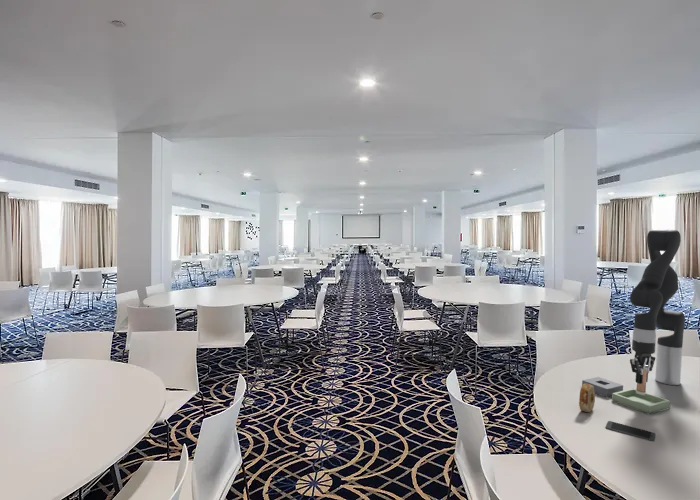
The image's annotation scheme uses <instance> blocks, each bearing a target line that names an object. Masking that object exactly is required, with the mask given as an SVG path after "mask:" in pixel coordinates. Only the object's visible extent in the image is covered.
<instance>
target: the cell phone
mask: <svg viewBox="0 0 700 500" xmlns="http://www.w3.org/2000/svg"><path fill="white" fill-rule="evenodd" d="M604 428H605V429H606V430H609V431H612V432H616V433H620V434H624V435H628V436H630V437H635V438H637V439H638V438H639V439H642V440H646V441H650V442H655V439H656V433H655V432H653V431H650V430H647V429H644V428H643V429H642V428H638V427H635V426H631V425H627V424H623V423H620V422H615V421H613V420H608V421H607V423H606V424H605V427H604Z"/></svg>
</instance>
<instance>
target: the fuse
mask: <svg viewBox="0 0 700 500" xmlns="http://www.w3.org/2000/svg"><path fill="white" fill-rule="evenodd" d="M639 366H641V365H639ZM640 370H641V369H640ZM642 375H643V382H642V384H639V383H636V393H637V394H639V395H646V393H647V391H646V390H647V389H646V388H647V382H646V376H647V367H646V366H645V369H644V370H643V374H642Z"/></svg>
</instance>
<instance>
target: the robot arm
mask: <svg viewBox="0 0 700 500" xmlns="http://www.w3.org/2000/svg"><path fill="white" fill-rule="evenodd" d="M646 242H647V243H646V244H647V250H648V255H649V259H650V263H649V264H648V265H647V266H646V267H645V269H644V270H643V274H642V276H641V279H640V281H639V282H638V284H637V285H636V286H635V287H634V288H633V289H632V291H631V292H630V296H629V301H630V304H631V305H633V306H635V307H638V308H640V307H641V308H647V309H649V311H647V312H637V313H635V314H634V320H633V323H634V324H633V331H632V342H631V349H632V351H634V352H635V354H634V358H630V360H629V363H630V368H631V372H632V373H634V374H635V383H636V384H637V383H639V384H642V382H643V375H642V374H643V370H644V369H645V366H646V367H647V376H646V383H648V380H649V374H650V372H652V371H653V368H654V364H655V377H654V378H655V379H654V380H655V381H656V382H659V383H661V384H665V385H671V386H679V385H681V378H682V377H681V376H682V375H681V374H682V363H683V362H682V358H683V345H684V344H683V343H684V332H685V331H684V330H685V325H686V324H685V323H686V316H685V314H684V312H682V311H676V310H668V309H665V306H666V304H667V303H668V302H669V301H670V299H672V298H673V297H674V295H676V293H677V292H678V290H679V279H678V278H679V277H678V274H677V272H676V271H675V269H674V268H673V267H672V266H671V264H672V261H673V260H674V258H675V256H676V255H677V252H678V251H679V249H680V248H679V247H680V245H681V242H682V240H681V233H680V230H679V231H678V230H677V229H664V228H663V229H660V228H658V229H655V228H654V229H651V230H649V231H648V233H647V237H646ZM662 252H663V253H662ZM656 328H657V329H659V330H663V331H669V332H670V331H671V332H673V334H671V335H665V336H659V337H658V338H657V334H656V330H657V329H656ZM656 341H657V343H656ZM656 346H657V347H656ZM655 353H656V357H655V356H653V354H655ZM639 365H641V366H639ZM640 369H641V370H640Z"/></svg>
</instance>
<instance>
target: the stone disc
mask: <svg viewBox="0 0 700 500" xmlns="http://www.w3.org/2000/svg"><path fill="white" fill-rule="evenodd" d="M595 394H596V393H595V391H594V386H592V385H590V384H583V385H582V384H581V386H580V390H579V399H578V406H579V410H580V411H582V412H586V413H591V412H592V410H593V409H594V406H595V401H596V395H595Z"/></svg>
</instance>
